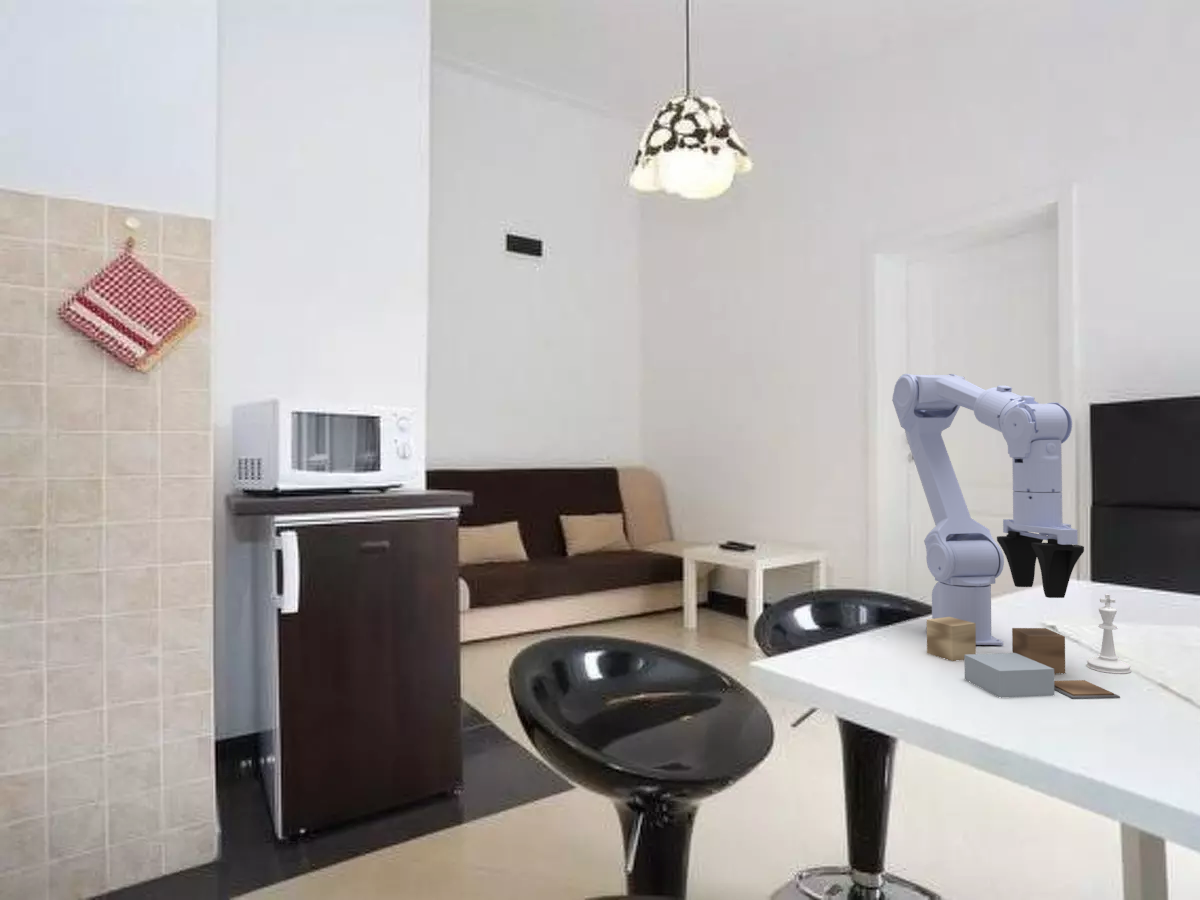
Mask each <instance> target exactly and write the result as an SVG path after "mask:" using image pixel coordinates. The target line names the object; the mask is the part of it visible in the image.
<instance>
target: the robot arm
mask: <svg viewBox="0 0 1200 900" xmlns="http://www.w3.org/2000/svg"><path fill="white" fill-rule="evenodd" d="M1012 391H1013V387H1012V386H1008V385H997V386H996V387H995V386H994V387H990V388H987V389H984V388H982V387H980V386H978V385H976V384H975V383H973V382H970V381H969V380H966V378H965V377H964V376H962V375H957V374H955V373H948V374H911V373H904V374H902V375H900V376H899V377H898V379H897V381H896V382H895V385H894V388H893V394H892V400H891V401H892V403H893V407H894V409H895V412H896V415H897V416H896V417H897V418H898V421H899V425H900V427H901V428H902V429H903V430H904V433H905V437H906V439H907V443H908V446H909V450H910V452H911V456H912V460H913V461H914V464H915V465H914V466H915V467H916V470H917V471H916V472H918V473H917V474H918V477H919V480H920V483H921V486H922V489H923V492H924V494H925V497H926V498H925V499H926V501H927V503H928V506H929V510H930V512H931V515H932V519H933V523H934V525H935V526H934V527H933V528H932V529H931V530H930V531H929V532H928V534H927V535H926V536H925V539H924V540H923V542H924V545H925V551H926V556H925V557H926V564H927V568H928V570H929V572H930V574H931V575H932V576H933V578H934V580H935V581H936V582H937V583H936V584H935V585H934V587H933V588H932V591H931V619H935V618H943V617H953V618H957V619H961V620H965V621H968V622H972V623H976V646H978V645H979V646H981V645H982V646H983V645H984V646H1003V645H1004V641H1003V640H1002V639H999V638H997V637H994V636H993V635H992V585H993V584H996V579H998V578H999V576H1001V574H1002V573H1003V570H1004V567H1005V566H1004V565H1005V559H1006V561H1007V563H1008V566H1009V571H1010V574H1011V578H1012V581H1013V583H1014V584H1013V585H1014V587H1016V588H1033V586H1034V581H1035V573H1036V563H1037V562H1038V564H1039V569H1040V572H1041V574H1040V575H1041V581H1042V583H1041V584H1042V589H1043V593H1044V597H1046V598H1049V599H1064V598H1065V596H1066V593H1067V590H1068V586H1069V582H1070V579H1071V576H1072V573H1073V570H1074V568H1075V566H1076V564H1077V562H1078V560H1080V557H1081V556H1082V555H1083V553H1084V552H1085V546H1083V545H1081V544H1080V545H1079V540H1078V539H1079V537H1078V533H1079V532H1078V529H1075V528H1072V524H1071V523H1070V524H1069V523H1066V522H1065V523H1063V474H1062V473H1063V469H1062V468H1063V465H1062V463H1063V461H1062V460H1063V459H1062V444H1063V443H1065V442H1066V441H1067V440H1068V439H1069V437H1070V436H1071V433H1072V431H1073V418H1072V415H1071V413H1070V411H1069V410H1068V409H1067V407H1065V406H1064V405H1062V404H1060V403H1059V402H1057V401H1055V402H1054V401H1053V402H1048V403H1039V402H1038V401H1036V400H1035V397H1034V396H1031V395H1020V394H1017V393H1015V392H1012ZM960 407H962V408H964V409H967V410H970V411H973V415H974V416H975V418H976V420H977V421H978V422H979V423H981V424H983V425H985V426H988V427H989V428H992V429H993V430H996V431H997V432H1000V433H1002V436H1003V438H1004V440H1005V442H1006V444H1007V454H1008V455H1009V458H1011V459H1012V460H1011V461H1012V519H1010V518H1009V519H1005V518H1004V519H1003V520H1002V524H1003V525H1002V526H1003V527H1002V532H1003V533H1005V534H1006V535H1001V536H1000V535H999V536H996V541H997V542H996V541H995V539H994V538H993V536H992V533H991V530H990V529H989V528H987V526H985V525H983V524H982V523H980V522H978V521H977V520H975V519H974V518H972V517H971V514H970V512H969V508H968V506H967V502H966V500H965V498H964V495H963V492H962V489H961V487H960V483H959V481H958V478H957V475H956V472H955V469H954V467H953V465H952V461H951V458H950V455H949V453H948V450H947V447H946V444H945V442H944V439H943V436H942V432H943V431H945V430H947V429H948V428H950V427H951V425H952V423H953V421H954V419H955V417H956V416H957V413H958V411H959V409H960ZM1044 541H1047V542H1044ZM1037 560H1038V561H1037ZM925 629H926V631H927V626H926V628H925Z"/></svg>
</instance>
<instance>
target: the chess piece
mask: <svg viewBox="0 0 1200 900" xmlns="http://www.w3.org/2000/svg"><path fill="white" fill-rule="evenodd" d="M1099 603H1101V604H1102V603H1103V604H1104V606H1100V607H1099V608H1098V611H1099V614H1100V617H1101V620H1102V621H1103V622H1102V623H1099V624H1098V628H1100V629H1103V635H1102V642H1101V649H1100V653H1098V654H1097V656H1096V657H1089V658H1088V659H1087V660H1086V665H1085V666H1086V667H1087V668H1089V669H1091V670H1094V671H1098V672H1102V673H1106V674H1107V673H1108V674H1116V675H1117V674H1120V675H1125V674H1130V673H1131V672H1132V670H1131V666H1130V663H1128V662H1125V661H1122V660H1121V659H1119V658H1120V657H1119V656H1118V655H1117V654H1116V649H1115V642H1114V636H1113V631H1116V630H1118V626H1117V625H1115V624H1113V622H1114V619H1115V617H1116V615H1117V611H1118V610H1117V609H1116V608H1114V607H1112V606H1111V604H1116V599H1115V598H1111V595H1110V594H1109V593H1105V594H1104V598H1099Z"/></svg>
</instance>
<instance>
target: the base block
mask: <svg viewBox="0 0 1200 900" xmlns="http://www.w3.org/2000/svg"><path fill="white" fill-rule="evenodd" d="M963 662H964V680H965V679H966V680H965V681H967V682H969V681H970V682H971V684H972V683H973V685H974V684H975V686H976V685H977V686H976V687H978V686H979V687H978V688H980V687H981V688H980V689H982V688H983V689H982V690H985V691H986V692H988V693H989V694H992V695H993V694H994V695H993V696H995V695H996V697H997V696H998V698H999V697H1001V698H1000V699H1002V697H1009V698H1028V697H1051V696H1052V697H1054V696H1055V690H1054V681H1055V674H1054V669H1053V668H1051V667H1048V666H1046V665H1043V664H1041V663H1039V662H1036V661H1034V660H1031V659H1029V658H1027V657H1024V656H1022V655H1019V654H1017V653H1013V652H997V653H976V654H968V655H964V660H963ZM970 682H969V683H970ZM1053 695H1054V696H1053Z"/></svg>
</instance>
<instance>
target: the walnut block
mask: <svg viewBox="0 0 1200 900" xmlns="http://www.w3.org/2000/svg"><path fill="white" fill-rule="evenodd" d="M1011 632H1012V633H1011V636H1012V637H1011V638H1012V639H1011V640H1012V641H1011V643H1012V651H1011V652H1012V653H1017V654H1019V655H1022V656H1024V657H1027V658H1029V659H1031V660H1034V661H1036V662H1039V663H1041V664H1043V665H1046V666H1048V667H1051V668H1053V669H1054V675H1055V674H1056V673H1060V675H1065V674H1066V636H1064V635H1062V634H1061V633H1059V632H1055V631H1053V630H1051V629H1048V628H1047V627H1046V628H1045V627H1030V628H1029V627H1012V628H1011ZM1061 673H1063V674H1061ZM1064 673H1065V674H1064Z"/></svg>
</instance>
